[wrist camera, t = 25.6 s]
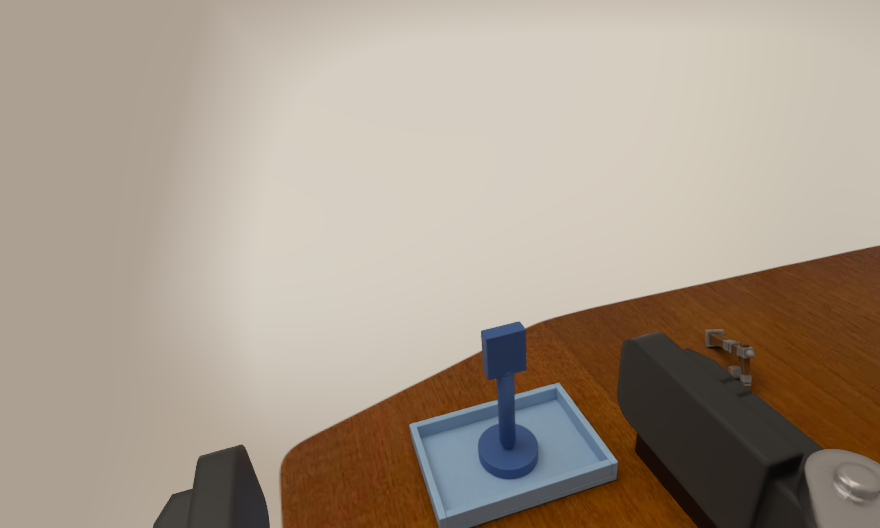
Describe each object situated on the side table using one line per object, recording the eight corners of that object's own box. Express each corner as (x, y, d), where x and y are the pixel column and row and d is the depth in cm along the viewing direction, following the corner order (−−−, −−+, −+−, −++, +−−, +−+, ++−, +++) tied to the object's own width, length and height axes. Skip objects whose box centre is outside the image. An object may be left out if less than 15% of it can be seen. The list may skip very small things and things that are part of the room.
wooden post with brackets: (742, 393, 48) (741, 346, 48) (706, 368, 56) (705, 328, 56) (762, 392, 48) (762, 345, 48) (723, 368, 56) (722, 327, 56)
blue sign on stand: (491, 487, 42) (482, 358, 36) (470, 440, 47) (460, 319, 40) (548, 469, 43) (550, 341, 37) (523, 425, 48) (521, 304, 41)
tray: (441, 537, 40) (439, 519, 39) (411, 440, 48) (409, 424, 47) (616, 479, 43) (618, 462, 42) (558, 398, 51) (559, 382, 50)
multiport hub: (772, 616, 33) (780, 595, 32) (632, 448, 45) (635, 429, 44) (826, 591, 34) (836, 570, 33) (675, 434, 46) (678, 415, 45)
